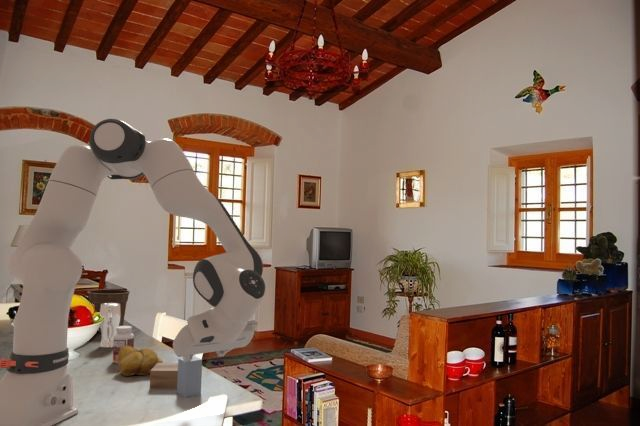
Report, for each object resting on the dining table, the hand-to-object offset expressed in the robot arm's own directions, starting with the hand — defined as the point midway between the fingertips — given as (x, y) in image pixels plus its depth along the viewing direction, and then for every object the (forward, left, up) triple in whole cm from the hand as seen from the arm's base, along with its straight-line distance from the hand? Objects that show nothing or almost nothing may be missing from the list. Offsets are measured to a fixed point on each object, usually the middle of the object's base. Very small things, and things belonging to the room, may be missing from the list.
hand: (203, 357), depth 132 cm
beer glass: (+53, +49, -11) cm, 73 cm away
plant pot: (+79, +62, -11) cm, 101 cm away
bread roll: (+21, +24, -11) cm, 34 cm away
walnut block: (+12, +13, -11) cm, 21 cm away
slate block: (+5, +5, -11) cm, 13 cm away
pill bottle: (+33, +35, -11) cm, 49 cm away
